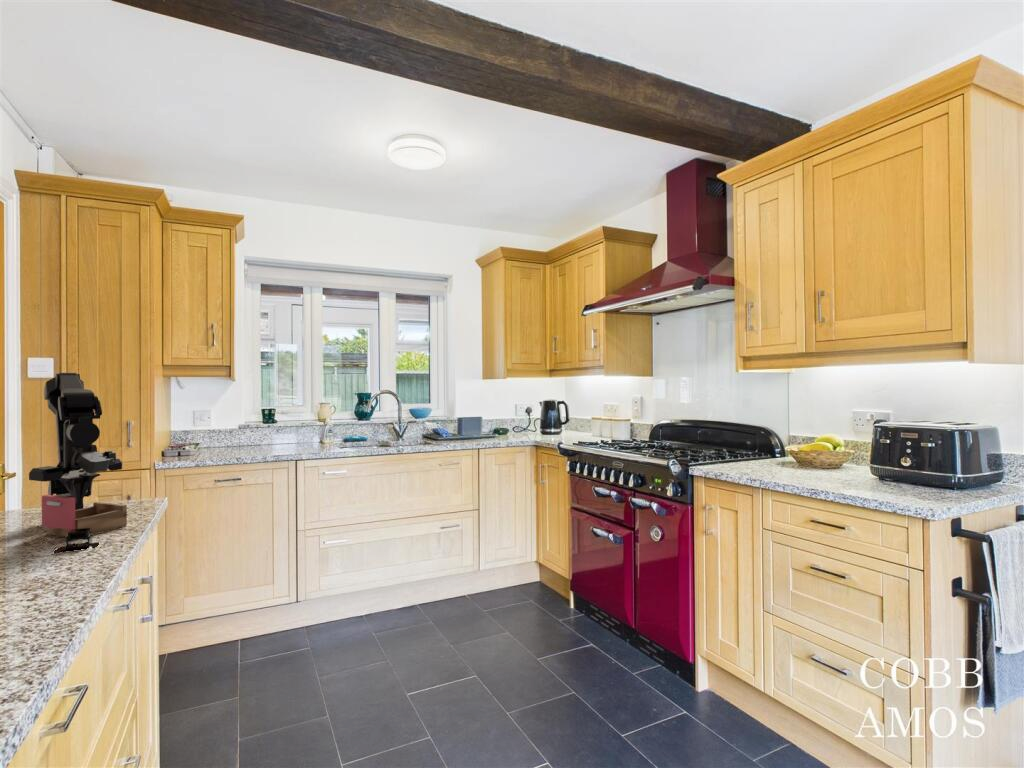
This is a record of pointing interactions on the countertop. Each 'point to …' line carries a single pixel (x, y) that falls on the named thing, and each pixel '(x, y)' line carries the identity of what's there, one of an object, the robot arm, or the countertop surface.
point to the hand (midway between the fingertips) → (78, 503)
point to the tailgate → (58, 512)
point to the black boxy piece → (77, 535)
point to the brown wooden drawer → (96, 518)
